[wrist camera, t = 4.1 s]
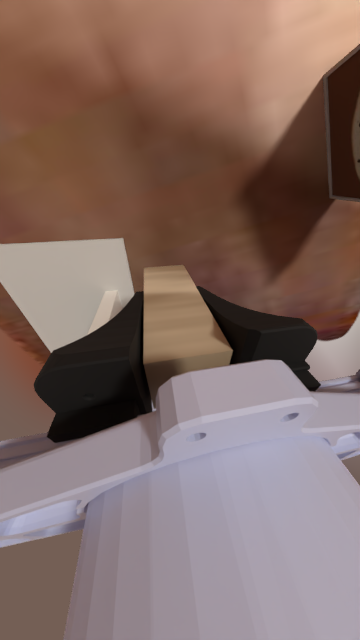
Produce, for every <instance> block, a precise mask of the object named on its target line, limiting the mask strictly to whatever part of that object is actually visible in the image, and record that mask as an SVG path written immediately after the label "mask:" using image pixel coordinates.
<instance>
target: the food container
mask: <svg viewBox="0 0 360 640" xmlns="http://www.w3.org/2000/svg"><path fill="white" fill-rule="evenodd" d="M323 86H324V105H325V124H326V143H327V162H328V182H329V198H331V199H339V200H347V201H355V202H360V44H359V45H358V46H357V47H356V48H355V49H353V50H352V51H351V52H350V53H349V54H348V55H346V56H345V57H344V58H343V59H342V60H341V61H339V62H338V63H337V64H336V65H335V66H334V67H333V68H331V69H330V70H329V71H328V72H327V73H326V74H324V75H323Z"/></svg>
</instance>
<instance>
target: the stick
mask: <svg viewBox="0 0 360 640" xmlns="http://www.w3.org/2000/svg"><path fill="white" fill-rule="evenodd" d="M232 352H233V350H232V348H231V346H230V345H229V343H228V341H227V340H226V338H225V336H224V334H223V333H222V331H221V329H220V327H219V326H218V324H217V322H216V321H215V319H214V317H213V315H212V314H211V312H210V310H209V308H208V307H207V305H206V303H205V302H204V300H203V298H202V296H201V295H200V293H199V291H198V289H197V288H196V286H195V284H194V283H193V281H192V279H191V277H190V276H189V274H188V272H187V270H186V269H185V267H184V265H176V266H163V267H149V268H144V350H143V364H144V368H145V373H146V377H147V381H148V385H149V390H150V394H151V398H152V403H153V407H154V409H156V395H157V392H158V388H159V387H160V386H161V385H163V384H164V383H165V382H166V381H168V380H169V379H170V378H171V377H173V376H176V375H179V374H182V373H185V372H188V371H194V370H200V369H206V368H213V367H219V366H225V365H229V364H230V360H231V356H232Z"/></svg>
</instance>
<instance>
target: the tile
mask: <svg viewBox="0 0 360 640" xmlns="http://www.w3.org/2000/svg"><path fill="white" fill-rule="evenodd" d="M121 310H122V305H121V301H120V297H119V294H118V290H115V291H105V293H104V296H103V298H102V301H101V303H100V305H99V308H98V310H97V313H96V315H95V317H94V320H93V322H92V325H91V327H90V329H89V332H88V334H90V333H92V332H93V331H95V330H97V329H98V328H100V327H101V326H103V325H104V324H106V323H107V322H108V321H110V320H111V319H112V318H114V317H115V316H116V315H117V314H118V313H119V312H120V311H121ZM88 334H87V335H88Z"/></svg>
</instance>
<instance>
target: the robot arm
mask: <svg viewBox="0 0 360 640" xmlns="http://www.w3.org/2000/svg"><path fill="white" fill-rule="evenodd" d="M196 288H197V289H198V291H199V293H200V295H201V296H202V298H203V300H204V302H205V303H206V305H207V307H208V308H209V310H210V312H211V314H212V315H213V317H214V319H215V321H216V322H217V324H218V326H219V327H220V329H221V331H222V333H223V334H224V336H225V338H226V340H227V341H228V343H229V345H230V346H231V348H232V350H233V352H232V356H231V360H230V364H229V365H225V366H219V367H213V368H206V369H200V370H194V371H188V372H185V373H182V374H179V375H176V376H173V377H171V378H170V379H169V380H168V381H166V382H165V383H164V384H163V385H161V386H160V387H159V388H158V392H157V395H156V409H154V407H153V403H152V398H151V394H150V390H149V385H148V381H147V377H146V373H145V368H144V364H143V350H144V291H142V292H136V293H135V294H134V296H133V297H132V298H131V300H130V301H129V302H128V303H127V305H126V306H125V307H124V308H123V309H122V310H121V311H120V312H119V313H118V314H117V315H116V316H115V317H114V318H112V319H111V320H110V321H108V322H107V323H106V324H104V325H103V326H101V327H100V328H98V329H97V330H95V331H93V332H92V333H90V334H88V335H86V336H84V337H82V338H80V339H78V340H76V341H74V342H72V343H70V344H67V345H65V346H63V347H60V348H58V349H56V350H53V352H52V353H51V355H50V356H49V358H48V359H47V361H46V363H45V365H44V366H43V368H42V370H41V371H40V373H39V375H38V376H37V378H36V380H35V383H34V388H35V391H36V393H37V394H38V396H39V397H40V398H41V399H42V400H43V401H44V402H45V403H46V404H47V405H48V406H49V407H50V408H51V409H52V410H53V411H54V412H55V413H56V415H55V417H54V420H53V422H52V424H51V427H50V429H49V432H46V433H41V434H35V435H30V436H24V437H19V438H14V439H8V440H3V441H0V548H1V547H5V546H9V545H14V544H18V543H23V542H27V541H32V540H37V539H41V538H46V537H50V536H54V535H59V534H63V533H68V532H72V531H77V530H82V529H84V530H83V536H82V541H81V546H80V552H79V557H78V563H77V568H76V574H75V579H74V585H73V590H72V596H71V601H70V607H69V612H68V618H67V623H66V628H65V634H64V639H63V640H360V486H359V484H358V483H357V482H356V480H355V479H354V478H353V476H352V475H351V474H350V472H349V471H348V470H347V468H346V467H345V466H344V464H343V463H342V462H341V460H343V459H346V458H350V457H353V456H357V455H359V454H360V370H359V371H358V372H357V373H356V375H353V376H348V377H342V378H337V379H332V380H326V381H321V382H318V381H317V380H316V379H315V378H314V377H313V376H312V375H311V373H310V372H309V371H308V370H309V369H310V366H309V365H308V364H307V363H306V362H305V359H306V358H307V356H308V355H309V353H310V352H311V350H312V349H313V347H314V345H315V343H316V341H317V331H316V330H315V329H314V328H313V327H312V326H310V325H309V324H308V323H306V322H305V321H304V320H303V319H300V318H292V317H284V316H277V315H271V314H266V313H262V312H257V311H254V310H250V309H247V308H243V307H241V306H238V305H235V304H233V303H230V302H228V301H226V300H224V299H222V298H220V297H218V296H216V295H214V294H212V293H211V292H209V291H207V290H205V289H204V288H202V287H200V286H196Z"/></svg>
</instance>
